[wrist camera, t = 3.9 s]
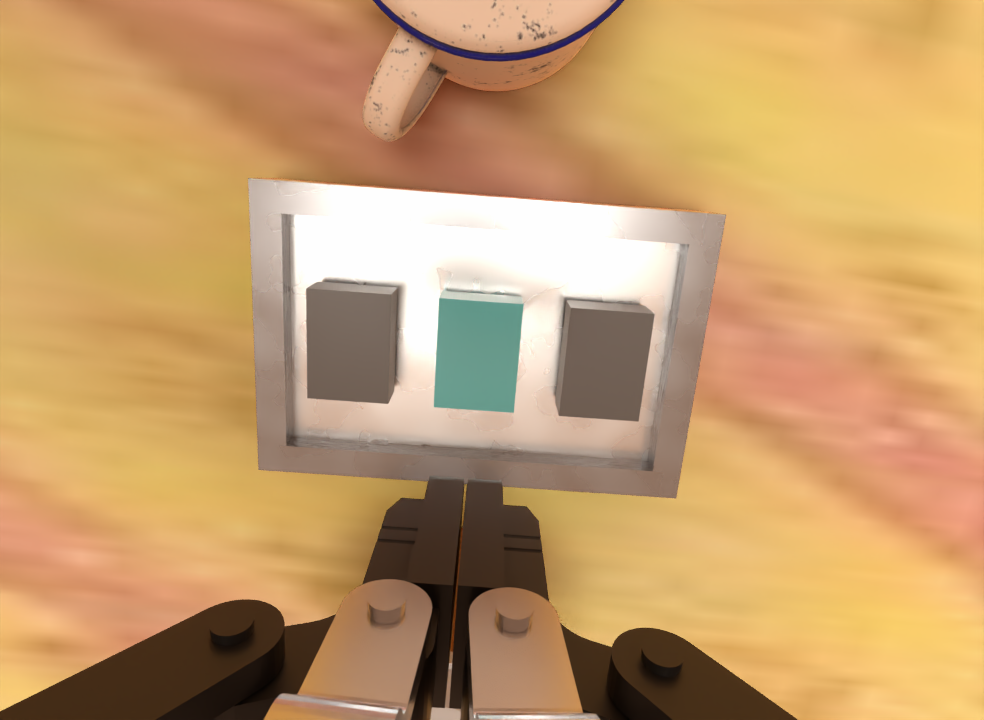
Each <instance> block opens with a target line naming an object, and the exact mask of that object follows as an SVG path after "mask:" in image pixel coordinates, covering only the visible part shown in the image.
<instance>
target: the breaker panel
mask: <svg viewBox="0 0 984 720" xmlns="http://www.w3.org/2000/svg"><path fill="white" fill-rule="evenodd" d="M248 186H249V213H250V241H251V269H252V297H253V325H254V353H255V381H256V409H257V437H258V464H259V470H268V471H283V472H298V473H312V474H327V475H342V476H357V477H371V478H386V479H401V480H415V481H429V477H430V476H439V477H453V478H465V479H464V484H467V480H468V478H469V479H483V480H497V481H502V486H504V487H518V488H533V489H548V490H563V491H577V492H592V493H607V494H621V495H636V496H651V497H666V498H676V495H677V490H678V484H679V478H680V473H681V467H682V461H683V456H684V450H685V444H686V439H687V433H688V427H689V422H690V416H691V410H692V405H693V399H694V394H695V388H696V382H697V377H698V371H699V365H700V360H701V354H702V348H703V343H704V337H705V331H706V326H707V320H708V314H709V309H710V303H711V297H712V292H713V286H714V280H715V275H716V269H717V263H718V258H719V252H720V246H721V241H722V235H723V229H724V224H725V218H726V215H724V214H718V213H711V212H704V211H695V210H682V209H669V208H656V207H643V206H630V205H617V204H604V203H591V202H578V201H565V200H552V199H539V198H526V197H513V196H500V195H487V194H474V193H461V192H448V191H435V190H422V189H409V188H396V187H383V186H370V185H357V184H344V183H331V182H318V181H305V180H292V179H279V178H248ZM316 282H332V283H345V284H359V285H372V286H386V287H398V292H397V324H396V356H395V388H394V393H393V395H392V397H391V399H390V401H389V403H388V404H381V403H367V402H352V401H338V400H324V399H310V398H307V329H306V288H307V287H309V286H311V285H312V284H314V283H316ZM442 291H454V292H467V293H481V294H494V295H508V296H521V297H522V300H523V304H524V306H523V317H522V328H521V339H520V350H519V361H518V372H517V384H516V395H515V406H514V413H509V412H495V411H481V410H466V409H452V408H438V407H434V388H435V369H436V349H437V329H438V309H439V297H440V295H441V293H442ZM566 300H576V301H589V302H603V303H616V304H630V305H643V306H646V307H647V308H648V309H650V310H651V311H652V312H653V313H654V314H655V317H654V323H653V330H652V336H651V343H650V350H649V356H648V363H647V369H646V376H645V383H644V389H643V396H642V402H641V409H640V415H639V422H637V421H623V420H609V419H594V418H580V417H566V416H559V415H558V411H557V407H556V404H555V398H556V389H557V379H558V370H559V361H560V352H561V343H562V334H563V325H564V316H565V306H566Z"/></svg>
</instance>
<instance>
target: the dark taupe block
mask: <svg viewBox="0 0 984 720" xmlns="http://www.w3.org/2000/svg"><path fill="white" fill-rule="evenodd" d="M654 317H655V314H654V313H653V312H652V311H651V310H650V309H648V308H647V307H646V306H643V305H630V304H616V303H603V302H589V301H576V300H566V306H565V316H564V325H563V334H562V343H561V352H560V361H559V370H558V379H557V389H556V398H555V404H556V407H557V411H558V415H559V416H566V417H580V418H594V419H609V420H623V421H637V422H639V415H640V409H641V402H642V396H643V389H644V383H645V376H646V369H647V363H648V356H649V350H650V343H651V336H652V330H653V323H654Z"/></svg>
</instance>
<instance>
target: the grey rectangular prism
mask: <svg viewBox="0 0 984 720" xmlns="http://www.w3.org/2000/svg"><path fill="white" fill-rule="evenodd" d="M397 292H398V287H386V286H372V285H359V284H345V283H332V282H316V283H314V284H312V285H311V286H309V287H307V288H306V329H307V398H310V399H324V400H338V401H352V402H367V403H381V404H388V403H389V401H390V399H391V397H392V395H393V393H394V388H395V356H396V324H397Z"/></svg>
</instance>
